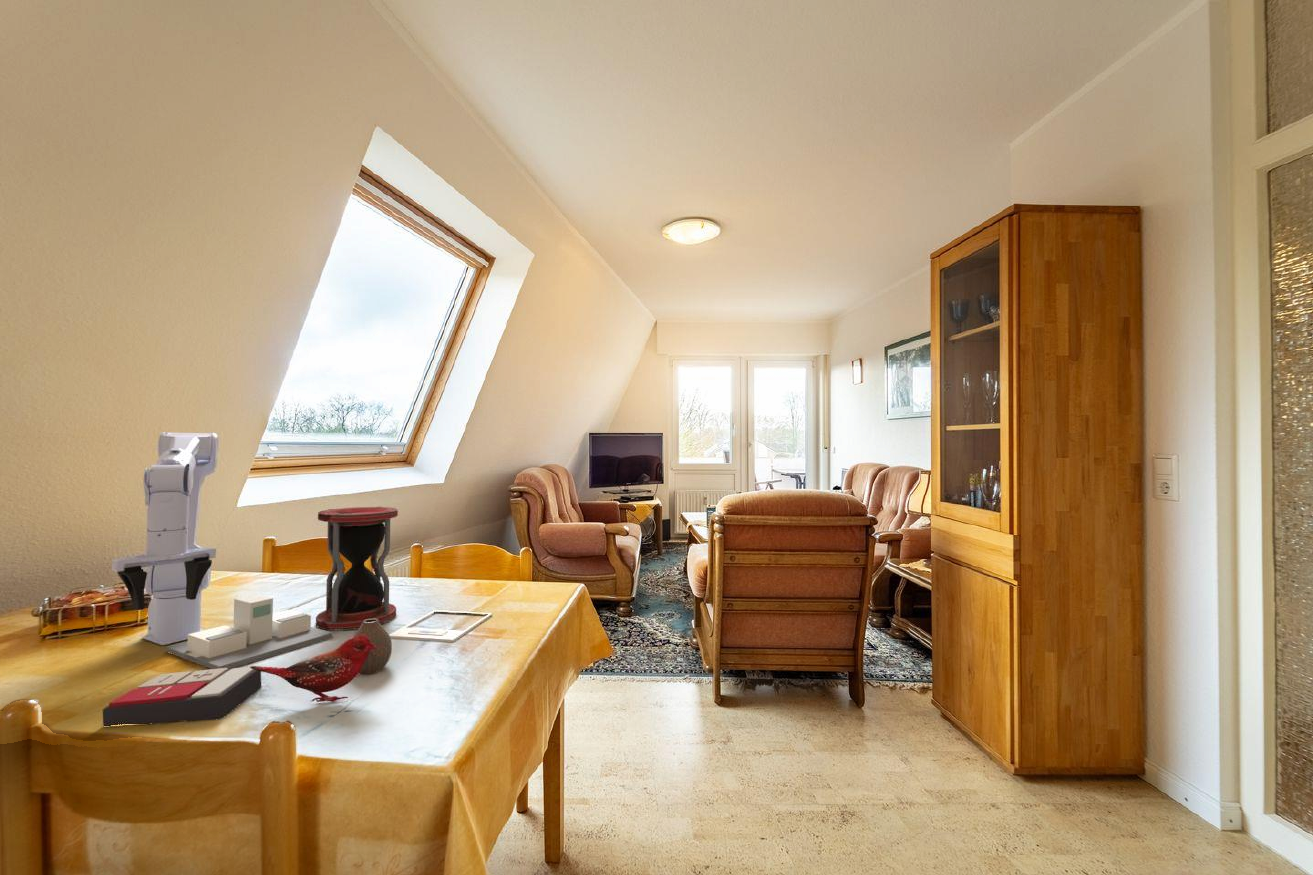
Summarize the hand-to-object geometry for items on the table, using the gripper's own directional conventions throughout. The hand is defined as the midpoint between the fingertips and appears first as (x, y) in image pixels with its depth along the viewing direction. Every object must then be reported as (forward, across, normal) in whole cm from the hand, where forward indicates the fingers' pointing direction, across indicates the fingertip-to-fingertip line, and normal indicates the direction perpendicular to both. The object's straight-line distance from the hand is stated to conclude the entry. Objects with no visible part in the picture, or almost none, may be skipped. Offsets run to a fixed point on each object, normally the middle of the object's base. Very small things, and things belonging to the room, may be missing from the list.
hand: (165, 603), depth 100 cm
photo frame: (+11, +38, -29) cm, 49 cm away
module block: (+9, +12, -5) cm, 16 cm away
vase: (+11, +15, -37) cm, 41 cm away
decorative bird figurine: (+11, +3, -41) cm, 42 cm away
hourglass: (+10, +32, -8) cm, 35 cm away
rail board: (+10, +12, -5) cm, 17 cm away
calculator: (+11, -6, -25) cm, 28 cm away
